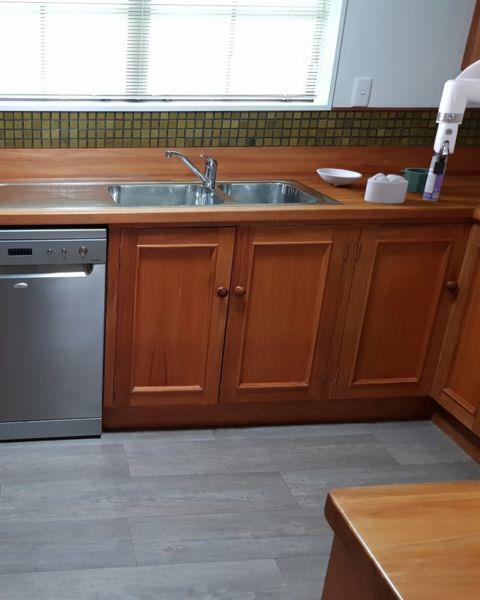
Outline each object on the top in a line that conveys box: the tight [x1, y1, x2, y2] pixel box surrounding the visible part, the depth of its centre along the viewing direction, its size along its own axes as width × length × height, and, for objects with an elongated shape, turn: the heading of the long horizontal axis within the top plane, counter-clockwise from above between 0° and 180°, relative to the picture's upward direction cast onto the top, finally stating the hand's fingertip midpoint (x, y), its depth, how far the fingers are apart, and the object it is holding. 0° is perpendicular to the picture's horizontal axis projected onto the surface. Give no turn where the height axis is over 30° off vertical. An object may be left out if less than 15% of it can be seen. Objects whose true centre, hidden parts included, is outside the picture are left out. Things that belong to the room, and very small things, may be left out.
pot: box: [399, 167, 446, 194], centre depth 229 cm, size 15×12×7 cm
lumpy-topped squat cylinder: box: [363, 172, 408, 204], centre depth 213 cm, size 10×13×9 cm
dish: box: [316, 168, 363, 187], centre depth 235 cm, size 18×14×5 cm
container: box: [422, 155, 448, 202], centre depth 213 cm, size 5×5×15 cm
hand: (436, 171), depth 212 cm, fingers closed on container, 4 cm apart
